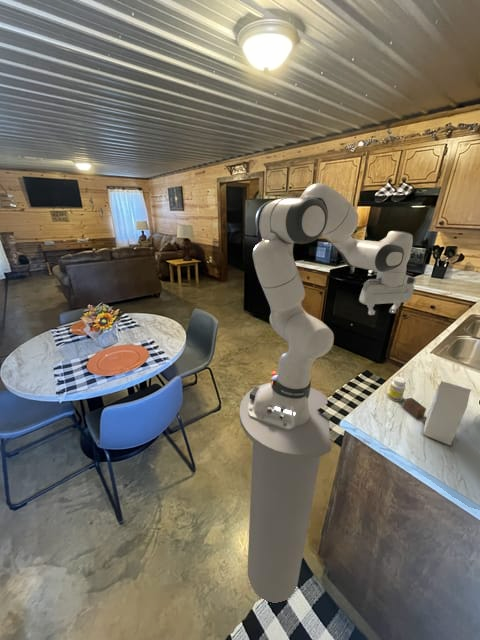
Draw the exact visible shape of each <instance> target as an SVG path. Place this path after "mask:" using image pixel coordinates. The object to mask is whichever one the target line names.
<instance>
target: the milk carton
mask: <svg viewBox="0 0 480 640" xmlns="http://www.w3.org/2000/svg"><path fill="white" fill-rule="evenodd" d="M471 391H472V389H470V388H467V387H464V386H460V385H458V384H453V383H451V382H447V381H443V380H441V381H440V383H439V384H438V386H437V387H436V391H435V393H434V396H433V398H432V402H431V404H430V407H429V410H428V412H427V415H426V418H425V421H424V427H423V435H424V436H426V437H428V438H431V439H433V440H436V441H438V442H441V443H443V444H445V445H448V446H451V445H452V443H453V440H454V438H455V436H456V433H457V431H458V428H459V427H460V424H461V422H462V419H463V417H464V415H465V412H466V410H467V408H468V403H469V398H470V394H471Z"/></svg>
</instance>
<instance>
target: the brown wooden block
mask: <svg viewBox="0 0 480 640" xmlns="http://www.w3.org/2000/svg"><path fill="white" fill-rule="evenodd" d="M402 409H404V410H405V411H406V412H407V413H409V415H411V416H412V418H414V419H415V420H418V419H423V418H424V416H425V413H426V410H427V408H426V407H425V406H424V405H422V404H421V403H419V402H418V401H417V400H416V399H414V398H413V397H409V398H405V399H404V402H403V406H402Z"/></svg>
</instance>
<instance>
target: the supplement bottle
mask: <svg viewBox="0 0 480 640" xmlns="http://www.w3.org/2000/svg"><path fill="white" fill-rule="evenodd" d="M406 383H407V380H406V379H405V378H403V377H401V376H394V377H393V378H392V381H391V383H390V387H389V390H388V393H387V396H388V398H389V399H390V400H393V401H395V402H401V401H402V400H403V396H404V394H405V390H406Z"/></svg>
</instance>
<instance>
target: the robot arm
mask: <svg viewBox="0 0 480 640" xmlns="http://www.w3.org/2000/svg"><path fill="white" fill-rule="evenodd" d="M358 223H359V213H358V210H357V209H356V208H355V206H354V205H353V204H352V203H351V202H350V201H349V200H348V199H346V198H345V196H343V195H342V194H341V193H340V192H338V191H337V190H335V189H334V188H332V187H331V186H329V185H327V184H325V183H322V182H317V183H313V184H311V185H309V186H308V187H306V189H304V191H303V192H302V194H301V195H300V197H283V198H278V199H271V200H269V201H267V202H265V203H263V204H262V205H261V206H260V207H259V208H258V210H257V211H256V214H255V229H256V238H257V240H258V241H259V242H258V243H257V244H256V245H255V246H254V248H253V250H252V260H253V265H254V269H255V272H256V276H257V279H258V281H259V284H260V286H261V288H262V291H263V293H264V296H265V298H266V301H267V302H268V306H269V308H270V315H269V324H270V326H271V327H272V329H273V330H274V332H275V333H276V334H277V335H278V336H280V337H281V338H282V339H284V340H285V341H286V342H287V345H288V348H287V351H285V352H283V353H282V354H281V355H280V356H279V358H278V362H277V363H278V364H277V371H276V370H273V371H271V375H270V376H271V379H270V382H271V383H270V382H267V383H268V384H266V383H264V384H265V385H262V384H261V385H262V386H261V387H260V388H258V387H257V386H254V387H253V388H252V389H253V390H252V389H251V390H252V392H250V401H249V404H248V415H249V417H250V418H253V419H255V420H258V421H261V422H264V423H267V424H270V425H272V426H275V427H278V428H281V429H284V430H287V431H290V430H292V429H293V428H295V427H296V426H300V425H303V424H305V423H306V422H307V421H308V420H309V418H310V412H309V406H308V397H309V395H310V389H311V388H312V385H311V376H312V371H313V365H314V362H315V361H316V359H317V358H322V357H323V356H325V355H327V354H328V353H329V352H330V351H331V349H332V347H333V346H334V342H335V341H334V340H335V334H334V332H333V330H332V329H331V328H330V327H329V326H328V325H327V324H326V323H324V322H323V321H322V320H320V319H319V318H317V317H314V316H313V315H311V314H309V313H308V312H307V311H306V310H305V309H304V307H303V304H302V302H303V301H304V299H305V297H306V290H305V286H304V284H303V281H302V277H301V275H300V271H299V269H298V268H299V267H298V266H297V263H296V261H295V259H294V244H299V245H304V244H305V245H306V244H309V243H310V244H311V243H312V242H313V243H314V242H315V241H316V240H318V239H319V238H320V237H321V236H322V237H323V238H324V239H325V240H326V241H327V242H328V243H329V244H330V246H332V247H333V248H334V249H335V250H336V251H337V252H338V253H339V255H341V258H342V261H343V262H344V263H345V265H346V266H348V267H351V268H359V269H363V270H368V271H373V272H376V278H369V279H367V280H366V281H364V282H363V285H362V286H363V287H362V288H361V291H360V294H359V298H358V301H359V303H361V304H362V305H364V306H365V305H366V307H367V309H368V311H367V314H368V315H369V316H375V315H376V310H374V307H375V305H383V304H384V305H385V304H393V305H392V306H391V307H389V309H388V313H390V314H396V313H397V310H398V309H399V308H400V306H401V304H402V303H409V302H410V301H411V300H412V297H413V294H414V290H415V286H414V284H416V282H417V278H416V277H413V276H411V275H408V274H407V265H408V262H409V261H410V259H411V253H412V250H413V243H414V242H413V241H414V237H413V234H411V232H407V231H401V230H390V231H388V233H387V235H386V236H385V237H384V238H382V239H381V240H379V241H376V240H367V239H366V240H365V239H361V238H355V237H353V236H352V235H353V233H354V232H355V231H356V229H357V227H358V225H359V224H358Z"/></svg>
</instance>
